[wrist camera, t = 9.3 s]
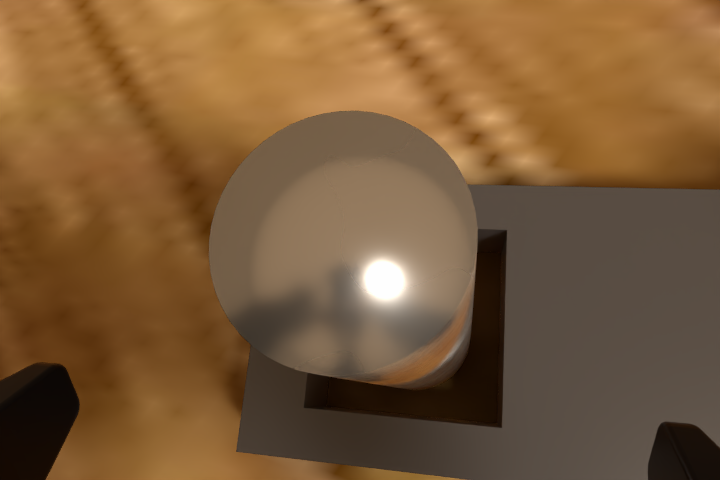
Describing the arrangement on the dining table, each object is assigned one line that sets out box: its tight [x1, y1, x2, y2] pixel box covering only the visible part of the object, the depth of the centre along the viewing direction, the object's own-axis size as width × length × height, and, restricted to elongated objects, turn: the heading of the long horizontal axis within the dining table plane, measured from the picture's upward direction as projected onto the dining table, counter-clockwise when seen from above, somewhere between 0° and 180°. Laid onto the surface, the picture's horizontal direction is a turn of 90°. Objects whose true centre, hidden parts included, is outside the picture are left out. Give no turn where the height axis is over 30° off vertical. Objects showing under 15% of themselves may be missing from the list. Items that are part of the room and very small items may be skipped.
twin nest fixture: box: [236, 185, 720, 480], centre depth 17 cm, size 9×28×3 cm, turn 85°
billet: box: [209, 111, 478, 390], centre depth 14 cm, size 4×4×13 cm
